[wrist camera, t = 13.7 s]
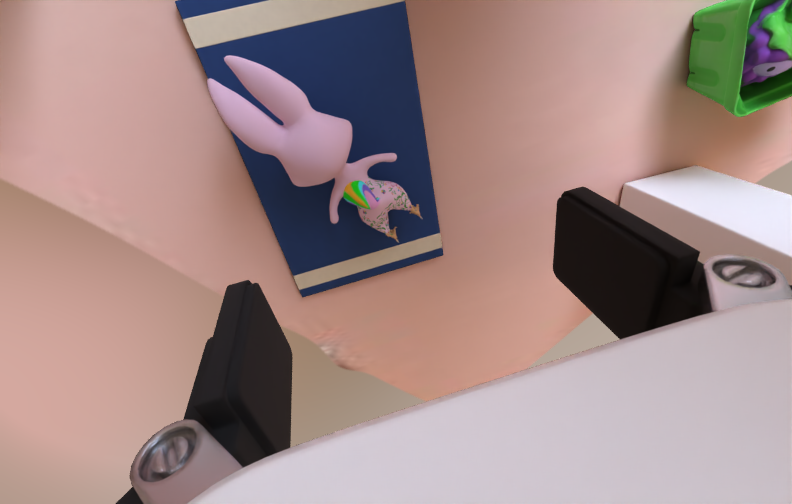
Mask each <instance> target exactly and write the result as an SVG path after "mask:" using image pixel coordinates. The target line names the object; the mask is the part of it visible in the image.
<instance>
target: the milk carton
mask: <svg viewBox="0 0 792 504" xmlns="http://www.w3.org/2000/svg"><path fill="white" fill-rule="evenodd" d="M620 207H621V208H623V209H625V210H627V211H629V212H630V213H632V214H634V215H636V216H638V217H639V218H641V219H643V220H645V221H647V222H648V223H650V224H652V225H654V226H655V227H657V228H659V229H661V230H663V231H664V232H666V233H668V234H670V235H672V236H673V237H675V238H677V239H679V240H680V241H682V242H684V243H686V244H688V245H689V246H691V247H693V248H695V249H697V250H698V251H700V254H699V257H698V261H699V262H701V263H703V264H704V263H705V262H706V261H707V260H708V259H709V258H712V257H714V256H718V255H725V254H729V255H742V256H748V257H752V258H756V259H759V260H762V261H764V262H767V263H769V264H771V265H773V266H774V267H776V268H777V269H779V270H780V271H781V272H782V273H783V275H784V276H785V277H786V280H787V282H788V284H789V285H792V196H791V195H788V194H785V193H782V192H779V191H776V190H773V189H770V188H766V187H763V186H760V185H757V184H754V183H751V182H748V181H744V180H741V179H738V178H735V177H732V176H729V175H726V174H722V173H719V172H716V171H713V170H710V169H707V168H703V167H700V166H697V165H695V166H691V167H687V168H683V169H679V170H675V171H671V172H667V173H663V174H659V175H655V176H651V177H647V178H643V179H639V180H636V181H632V182H628V183H625V184H624V186H623V191H622V196H621V202H620Z"/></svg>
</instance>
